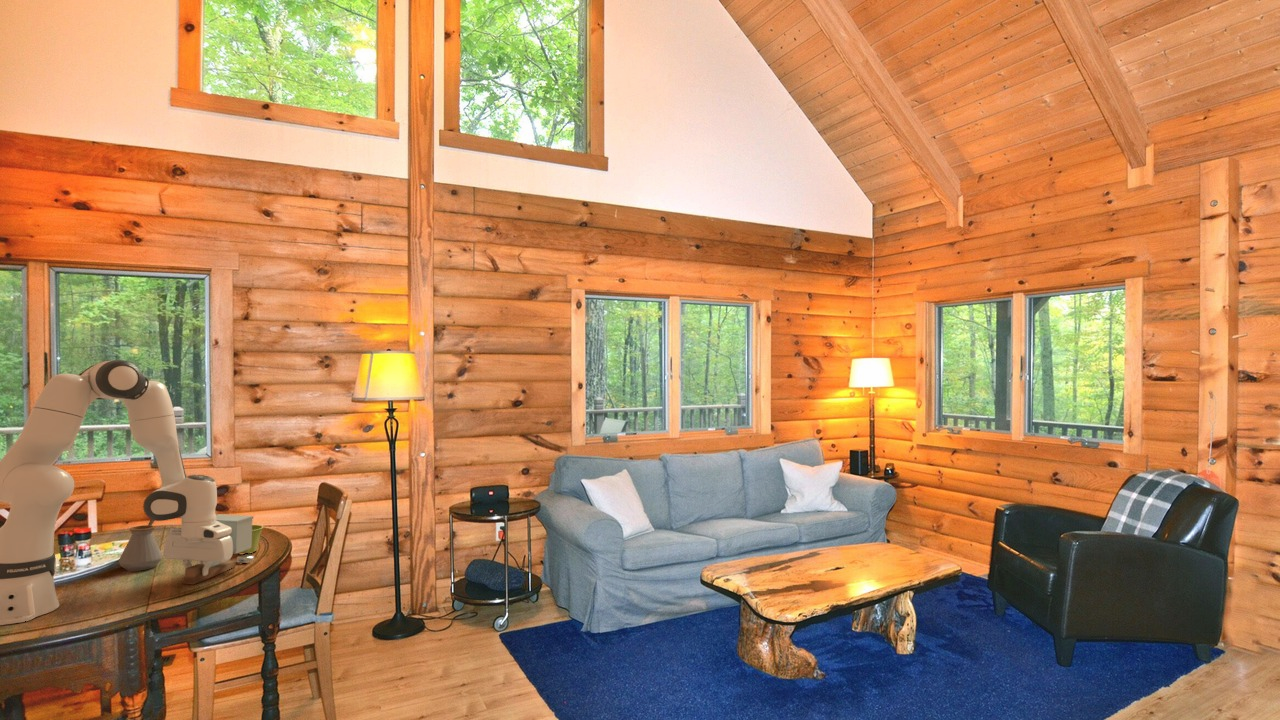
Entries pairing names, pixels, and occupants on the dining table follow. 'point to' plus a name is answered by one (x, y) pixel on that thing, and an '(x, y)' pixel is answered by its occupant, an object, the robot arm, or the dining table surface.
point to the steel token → (245, 558)
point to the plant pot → (254, 538)
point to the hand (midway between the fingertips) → (197, 574)
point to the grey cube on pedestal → (237, 531)
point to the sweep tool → (194, 571)
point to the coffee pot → (141, 549)
